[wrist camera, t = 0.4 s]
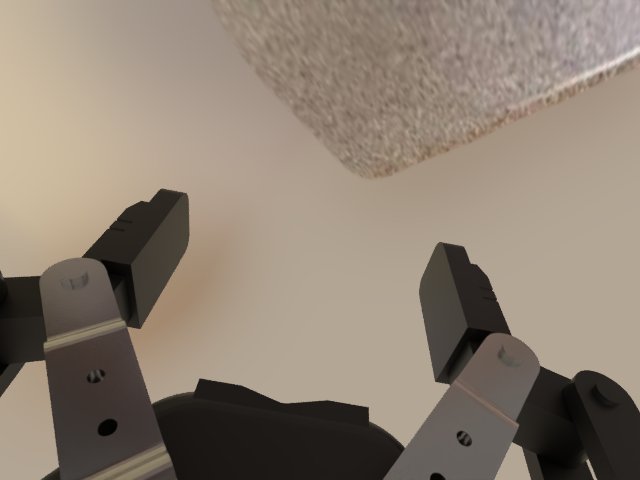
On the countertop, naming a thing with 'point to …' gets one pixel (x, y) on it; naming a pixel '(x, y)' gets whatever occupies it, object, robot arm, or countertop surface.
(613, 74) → the countertop surface
